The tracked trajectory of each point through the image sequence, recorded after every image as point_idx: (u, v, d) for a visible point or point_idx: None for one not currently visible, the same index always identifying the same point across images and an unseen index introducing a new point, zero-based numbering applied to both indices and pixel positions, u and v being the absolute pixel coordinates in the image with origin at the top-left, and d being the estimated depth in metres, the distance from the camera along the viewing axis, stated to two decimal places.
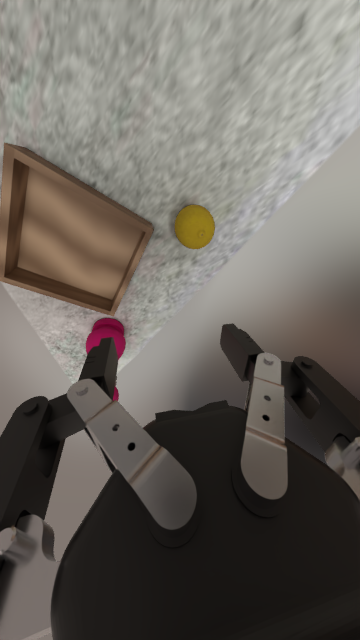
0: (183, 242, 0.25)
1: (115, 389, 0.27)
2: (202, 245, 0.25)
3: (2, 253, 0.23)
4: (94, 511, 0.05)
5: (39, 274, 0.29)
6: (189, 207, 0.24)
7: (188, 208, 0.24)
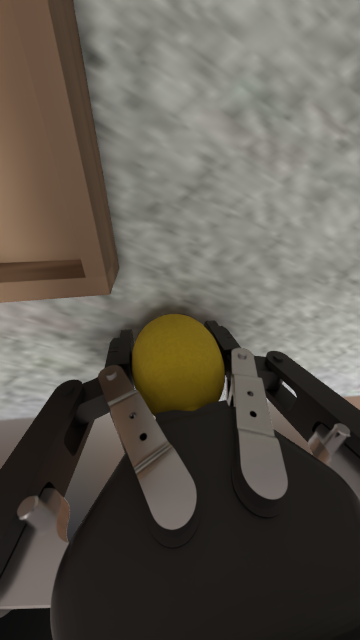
0: (139, 379, 0.09)
1: None
2: None
3: None
4: (94, 511, 0.05)
5: None
6: (207, 335, 0.10)
7: (205, 336, 0.10)
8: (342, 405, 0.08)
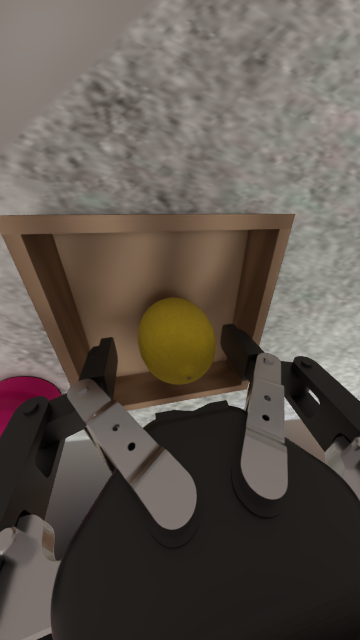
0: (145, 346, 0.11)
1: None
2: (166, 381, 0.12)
3: (93, 225, 0.09)
4: (94, 511, 0.05)
5: (65, 271, 0.13)
6: (202, 313, 0.12)
7: (200, 313, 0.12)
8: None
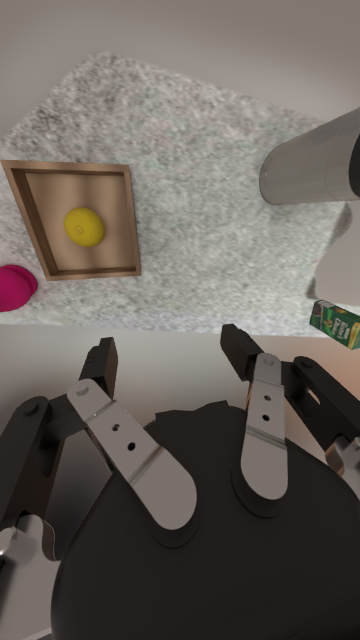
0: (64, 221, 0.26)
1: None
2: (74, 239, 0.26)
3: (38, 165, 0.24)
4: (94, 511, 0.05)
5: (33, 196, 0.28)
6: (93, 212, 0.27)
7: (92, 212, 0.27)
8: None
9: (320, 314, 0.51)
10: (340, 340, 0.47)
